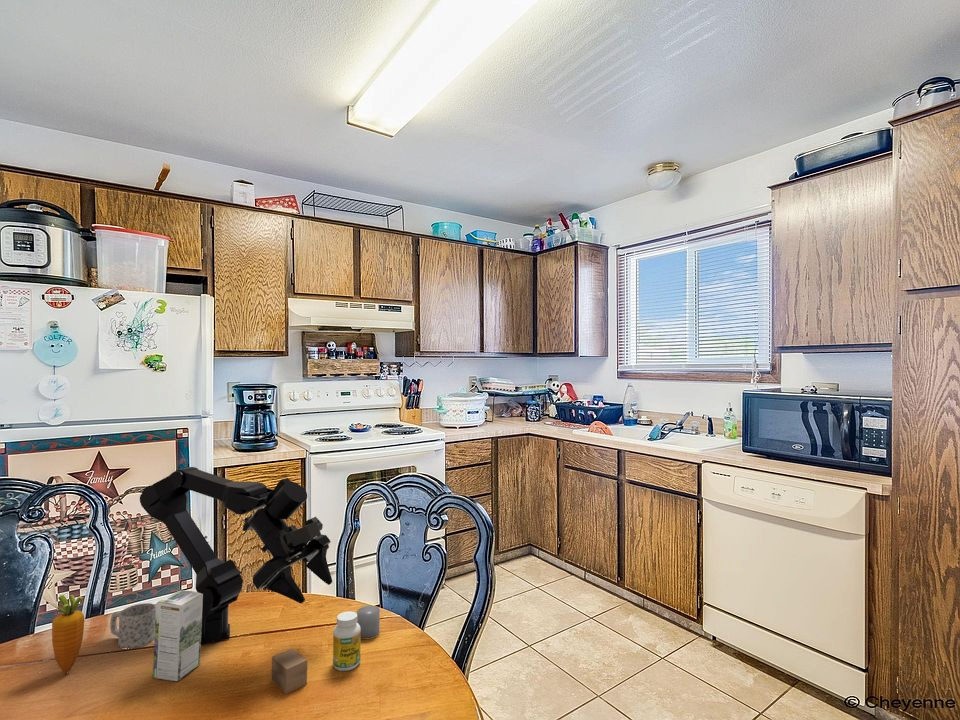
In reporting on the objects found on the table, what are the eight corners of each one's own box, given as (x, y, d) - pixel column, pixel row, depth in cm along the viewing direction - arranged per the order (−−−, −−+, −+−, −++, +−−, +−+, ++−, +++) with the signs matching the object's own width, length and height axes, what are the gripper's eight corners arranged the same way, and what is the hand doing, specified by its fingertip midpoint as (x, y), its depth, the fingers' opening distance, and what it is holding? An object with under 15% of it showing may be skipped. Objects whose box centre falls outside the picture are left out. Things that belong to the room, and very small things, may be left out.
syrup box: (176, 661, 100) (178, 588, 100) (201, 665, 99) (203, 591, 99) (152, 678, 94) (154, 601, 95) (178, 682, 93) (180, 604, 94)
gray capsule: (354, 630, 113) (354, 608, 113) (375, 625, 115) (376, 603, 115) (359, 641, 108) (360, 618, 108) (382, 635, 111) (382, 613, 111)
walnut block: (271, 680, 94) (271, 656, 94) (291, 671, 97) (291, 648, 97) (286, 694, 90) (286, 669, 90) (306, 684, 93) (307, 660, 93)
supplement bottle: (355, 653, 103) (355, 607, 104) (364, 666, 99) (365, 617, 99) (329, 661, 100) (330, 613, 101) (337, 675, 96) (338, 624, 96)
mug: (162, 634, 110) (163, 604, 110) (137, 651, 104) (138, 618, 104) (124, 630, 112) (125, 600, 112) (96, 646, 105) (98, 614, 106)
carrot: (89, 668, 97) (91, 591, 98) (60, 683, 92) (63, 601, 93) (72, 663, 99) (74, 587, 99) (43, 677, 94) (46, 597, 95)
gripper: (266, 520, 95) (313, 586, 92) (324, 498, 113) (366, 552, 110) (232, 557, 98) (277, 622, 94) (294, 529, 115) (334, 583, 112)
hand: (317, 592), depth 102 cm, fingers open, 9 cm apart
